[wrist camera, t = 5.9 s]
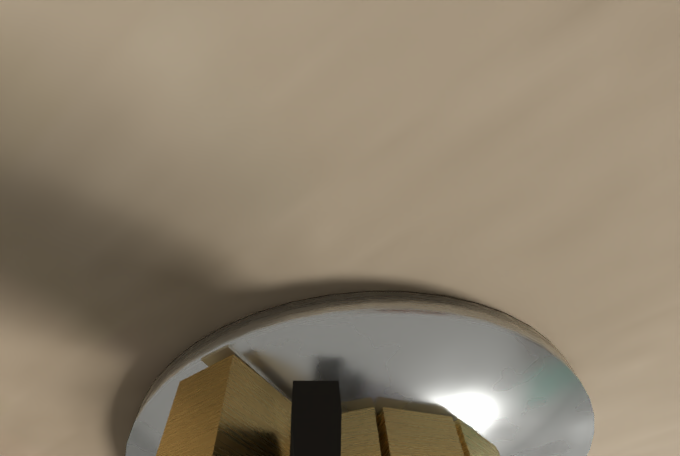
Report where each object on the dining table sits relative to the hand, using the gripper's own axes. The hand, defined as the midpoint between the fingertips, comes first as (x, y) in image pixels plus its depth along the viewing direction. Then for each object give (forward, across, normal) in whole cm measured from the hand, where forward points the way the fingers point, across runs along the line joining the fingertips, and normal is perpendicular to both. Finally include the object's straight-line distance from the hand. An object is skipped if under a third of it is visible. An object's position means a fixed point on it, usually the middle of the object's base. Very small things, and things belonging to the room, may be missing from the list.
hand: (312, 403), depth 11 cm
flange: (+2, -2, +7) cm, 8 cm away
